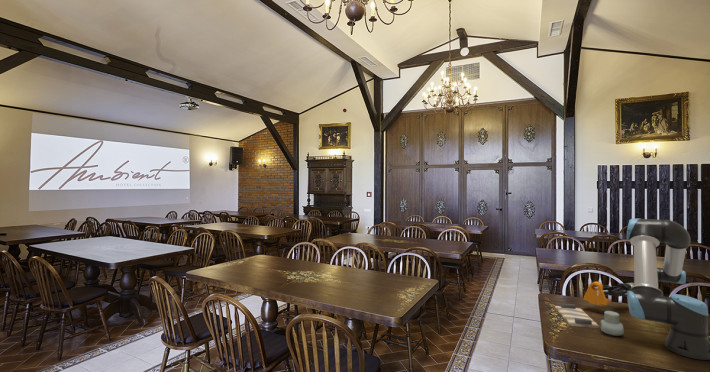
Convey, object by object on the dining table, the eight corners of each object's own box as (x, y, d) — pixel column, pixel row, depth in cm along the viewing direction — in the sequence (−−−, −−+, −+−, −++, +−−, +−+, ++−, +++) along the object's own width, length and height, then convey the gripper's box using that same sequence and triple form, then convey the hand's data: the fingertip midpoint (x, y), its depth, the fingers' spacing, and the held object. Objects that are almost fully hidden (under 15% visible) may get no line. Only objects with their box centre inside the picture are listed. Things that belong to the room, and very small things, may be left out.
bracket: (610, 304, 193) (610, 283, 193) (605, 306, 189) (605, 285, 189) (588, 299, 202) (588, 278, 202) (583, 301, 197) (583, 280, 197)
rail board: (599, 328, 172) (599, 322, 172) (569, 325, 176) (569, 319, 176) (580, 310, 197) (580, 304, 197) (554, 307, 201) (554, 302, 201)
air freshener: (600, 327, 173) (600, 307, 173) (620, 331, 169) (620, 311, 169) (602, 335, 164) (602, 314, 164) (624, 339, 160) (624, 318, 160)
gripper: (643, 301, 189) (607, 303, 186) (613, 291, 207) (579, 293, 204) (643, 288, 189) (607, 289, 186) (613, 279, 208) (579, 280, 204)
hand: (593, 291), depth 195 cm, fingers closed on bracket, 5 cm apart
